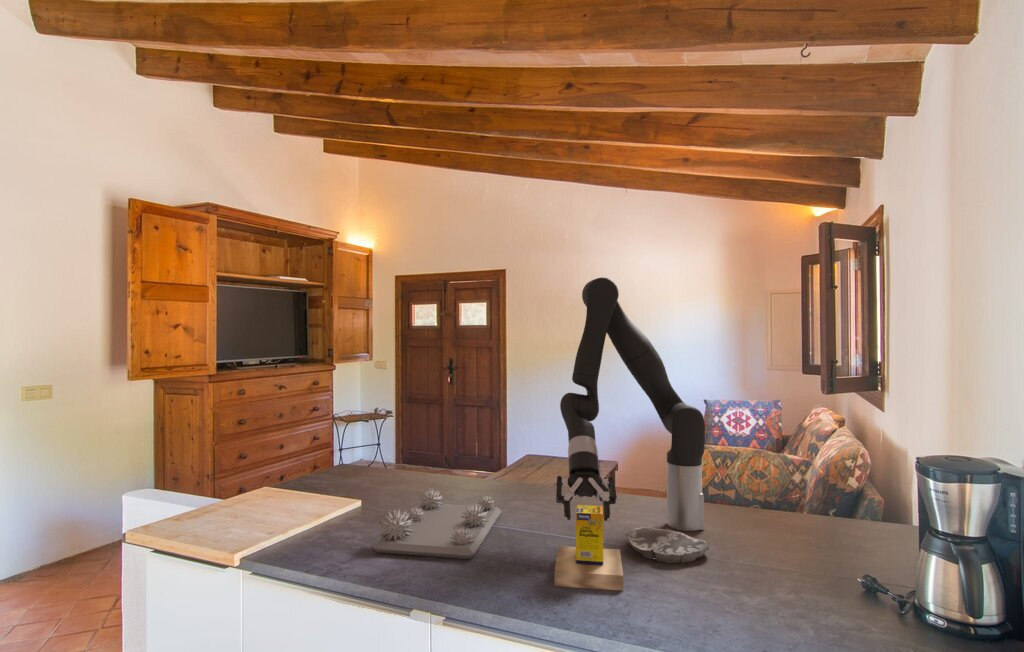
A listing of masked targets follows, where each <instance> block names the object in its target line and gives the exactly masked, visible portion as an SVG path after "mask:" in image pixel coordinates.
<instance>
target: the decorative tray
mask: <svg viewBox="0 0 1024 652" xmlns="http://www.w3.org/2000/svg"><path fill="white" fill-rule="evenodd" d="M428 489H429V491H427V489H426V490H424V491H422V493H423V494H424V495H423V494H422V496H421V495H419V497H420V498H421V499H418V501H419V502H420V504H417V506H414V508H413V507H411V508H410V509H409V511H405V512H404V513H403V511H401V513H400V510H397V509H394V511H393V512H394V513H393V515H392V514H391V512H390V511H388V512H386V514H384V516H385V518H384V519H385V520H382V519H379V521H380V524H379V525H376V526H377V527H378V528H379V527H380V528H382V529H379V532H377V533H376V535H377V538H378V537H379V540H378V541H377V542H376V543H375V544H373V545H372V549H374V550H375V552H376V553H381V554H382V553H383V554H396V555H411V556H425V557H436V558H437V557H438V558H448V559H449V558H450V559H463V560H466V559H467V560H470V559H471V558H472V557H473V556H475V554H476V552H477V551H478V549H479V547H480V546H481V544H482V543H483V542H484V540H485V539H486V537H487V535H488V534H489V532H490V531H491V529H492V528H493V526H494V524H495V523H496V521H497V520H498V518H499V516H500V515H501V513H502V510H501V509H500V508H499V507H498V506H496V505H495V503H496V501H495V499H493V500H492V498H493V497H491V495H490V496H488V494H486V495H485V496H482V497H480V500H479V502H477V503H475V505H473V504H471V505H470V504H469V505H468V504H450V503H449V504H448V503H443V502H442V500H445V498H443V497H444V495H443V494H442V495H440V493H441V491H440V490H438V489H437V490H435V491H434V488H428ZM439 495H440V496H439ZM478 504H479V505H478ZM378 534H379V535H378Z"/></svg>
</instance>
